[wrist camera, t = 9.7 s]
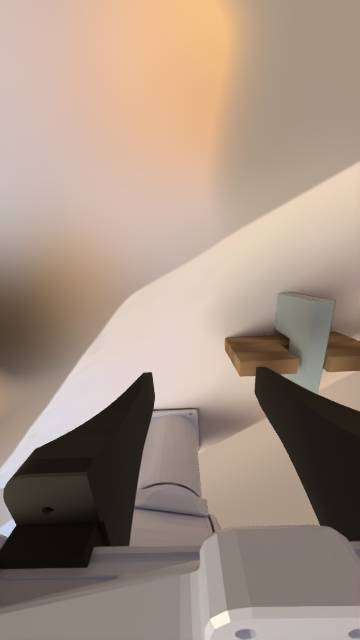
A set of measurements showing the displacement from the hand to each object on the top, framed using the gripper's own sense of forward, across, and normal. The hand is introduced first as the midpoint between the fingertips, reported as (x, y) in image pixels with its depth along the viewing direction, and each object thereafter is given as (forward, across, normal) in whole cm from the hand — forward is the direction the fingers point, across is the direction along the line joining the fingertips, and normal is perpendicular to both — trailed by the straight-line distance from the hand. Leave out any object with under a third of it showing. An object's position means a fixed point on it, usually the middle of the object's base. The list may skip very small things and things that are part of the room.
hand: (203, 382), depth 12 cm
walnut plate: (+10, -11, +2) cm, 15 cm away
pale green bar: (+10, -11, +2) cm, 15 cm away
